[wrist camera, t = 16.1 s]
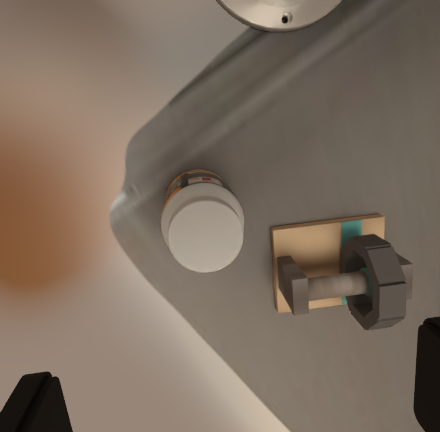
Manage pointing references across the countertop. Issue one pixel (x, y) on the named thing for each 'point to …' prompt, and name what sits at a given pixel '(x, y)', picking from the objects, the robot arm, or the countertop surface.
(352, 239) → the octagonal nut
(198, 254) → the pill bottle
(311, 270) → the rail
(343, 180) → the countertop surface
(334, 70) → the countertop surface
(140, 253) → the countertop surface
